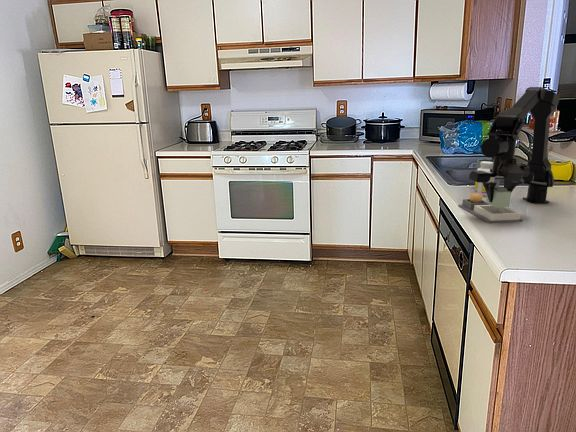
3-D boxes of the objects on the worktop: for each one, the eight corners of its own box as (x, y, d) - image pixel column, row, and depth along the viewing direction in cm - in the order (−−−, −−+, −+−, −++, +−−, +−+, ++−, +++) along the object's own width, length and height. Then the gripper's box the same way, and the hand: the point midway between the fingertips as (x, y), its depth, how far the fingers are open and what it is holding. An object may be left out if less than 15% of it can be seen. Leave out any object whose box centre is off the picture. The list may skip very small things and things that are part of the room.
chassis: (458, 206, 158) (459, 198, 158) (488, 205, 160) (489, 197, 159) (487, 222, 139) (488, 214, 139) (522, 221, 140) (523, 213, 140)
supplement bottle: (495, 194, 175) (500, 162, 171) (485, 197, 171) (490, 164, 167) (480, 191, 180) (484, 160, 176) (470, 193, 176) (474, 161, 173)
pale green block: (485, 202, 147) (488, 185, 146) (498, 202, 148) (501, 185, 146) (495, 207, 142) (498, 189, 140) (509, 207, 142) (511, 189, 140)
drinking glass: (493, 186, 189) (496, 158, 185) (505, 192, 179) (509, 162, 176) (469, 186, 188) (472, 158, 185) (480, 192, 179) (484, 162, 175)
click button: (467, 201, 156) (468, 193, 155) (477, 201, 157) (478, 192, 156) (472, 204, 152) (473, 196, 151) (483, 204, 153) (484, 195, 152)
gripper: (489, 158, 131) (483, 209, 136) (548, 157, 133) (540, 207, 137) (471, 153, 142) (465, 200, 146) (526, 152, 144) (519, 198, 148)
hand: (497, 201), depth 144 cm, fingers closed on pale green block, 4 cm apart
